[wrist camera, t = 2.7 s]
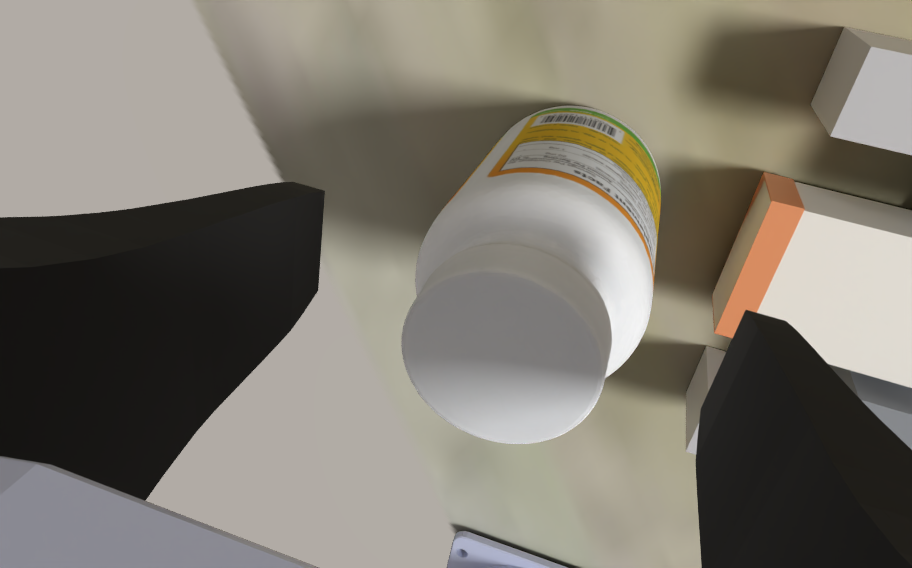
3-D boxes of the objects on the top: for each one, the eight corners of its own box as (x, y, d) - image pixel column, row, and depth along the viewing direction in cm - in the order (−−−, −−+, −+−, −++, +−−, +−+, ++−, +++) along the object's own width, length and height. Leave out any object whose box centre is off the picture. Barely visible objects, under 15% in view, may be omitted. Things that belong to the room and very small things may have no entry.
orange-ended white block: (900, 347, 20) (922, 393, 18) (712, 295, 21) (714, 333, 19) (976, 224, 18) (1010, 260, 16) (763, 172, 19) (772, 200, 17)
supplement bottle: (542, 292, 23) (463, 501, 15) (455, 157, 22) (314, 306, 14) (695, 223, 20) (699, 429, 12) (606, 65, 19) (544, 180, 11)
